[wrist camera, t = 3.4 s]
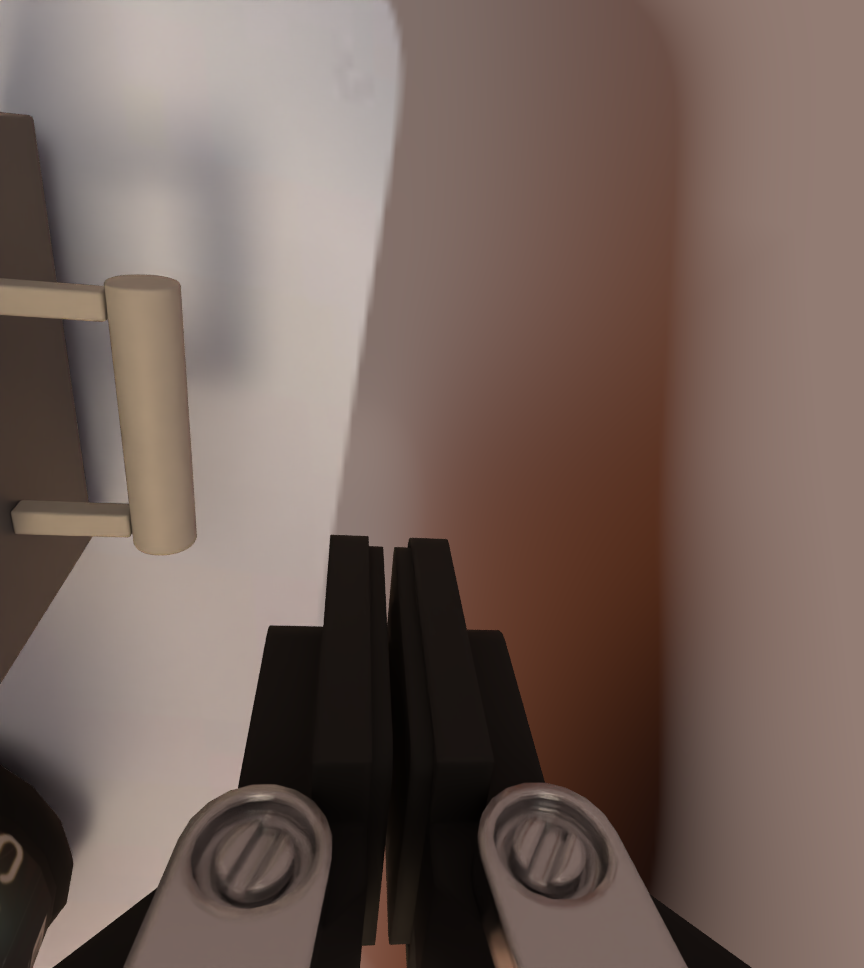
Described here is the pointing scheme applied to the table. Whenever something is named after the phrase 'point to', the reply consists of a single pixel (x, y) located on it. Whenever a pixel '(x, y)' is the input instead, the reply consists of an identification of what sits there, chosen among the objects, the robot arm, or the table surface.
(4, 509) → the drawer
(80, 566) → the table surface
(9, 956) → the container
